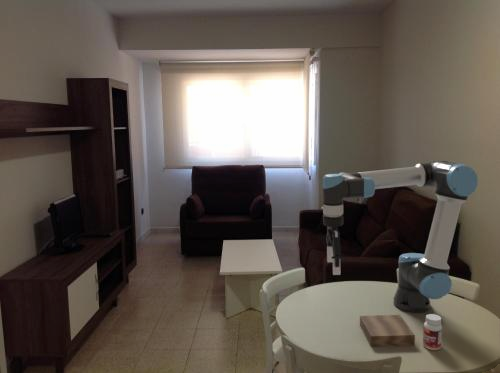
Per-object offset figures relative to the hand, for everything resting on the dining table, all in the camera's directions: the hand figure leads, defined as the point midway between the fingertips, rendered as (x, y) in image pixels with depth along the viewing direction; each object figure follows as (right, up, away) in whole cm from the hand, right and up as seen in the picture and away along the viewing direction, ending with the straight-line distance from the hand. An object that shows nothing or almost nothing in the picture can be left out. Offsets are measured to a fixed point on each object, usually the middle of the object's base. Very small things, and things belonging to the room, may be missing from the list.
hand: (333, 268), depth 171 cm
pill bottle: (+34, -27, -11) cm, 44 cm away
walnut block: (+20, -25, -2) cm, 32 cm away
